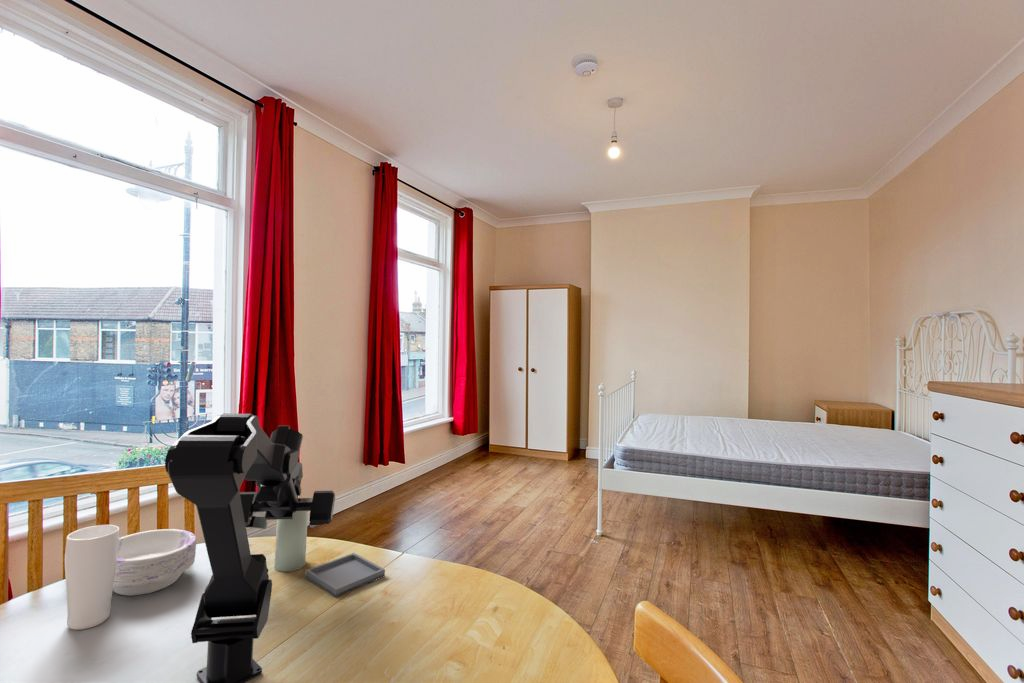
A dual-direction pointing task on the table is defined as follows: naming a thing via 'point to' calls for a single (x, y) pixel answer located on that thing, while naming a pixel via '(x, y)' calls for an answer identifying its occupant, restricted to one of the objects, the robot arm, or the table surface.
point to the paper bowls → (152, 560)
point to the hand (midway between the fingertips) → (289, 525)
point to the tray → (344, 574)
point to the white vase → (90, 574)
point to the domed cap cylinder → (291, 542)
